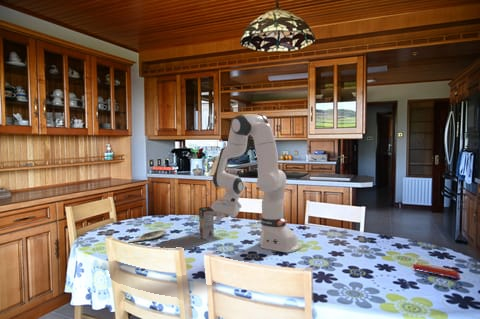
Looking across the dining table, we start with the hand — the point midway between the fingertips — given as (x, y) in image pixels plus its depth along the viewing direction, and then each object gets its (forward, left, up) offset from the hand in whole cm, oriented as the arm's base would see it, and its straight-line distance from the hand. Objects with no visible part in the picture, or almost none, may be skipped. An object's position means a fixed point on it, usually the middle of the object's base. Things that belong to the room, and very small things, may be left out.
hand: (217, 220), depth 187 cm
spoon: (+22, +39, -8) cm, 45 cm away
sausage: (-108, -18, -8) cm, 110 cm away
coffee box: (0, +9, -8) cm, 12 cm away
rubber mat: (0, +25, -8) cm, 26 cm away
